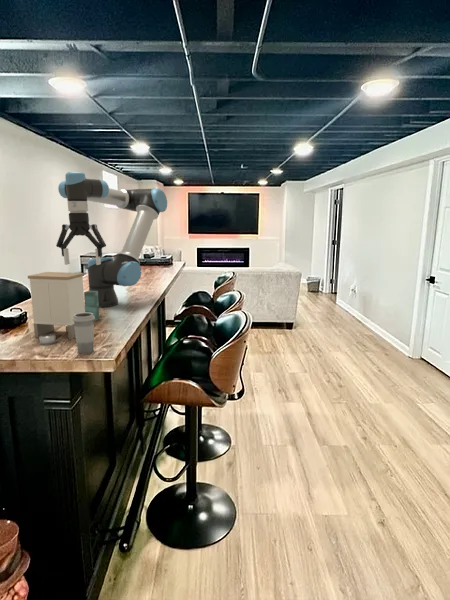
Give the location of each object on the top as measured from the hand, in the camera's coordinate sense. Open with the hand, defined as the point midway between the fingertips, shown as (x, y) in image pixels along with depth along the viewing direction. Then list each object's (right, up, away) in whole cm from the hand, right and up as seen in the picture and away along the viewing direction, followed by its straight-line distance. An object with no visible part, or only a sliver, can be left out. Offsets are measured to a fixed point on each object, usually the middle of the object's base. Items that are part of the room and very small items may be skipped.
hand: (82, 264), depth 162 cm
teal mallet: (+3, -25, -7) cm, 26 cm away
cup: (+15, -31, -39) cm, 52 cm away
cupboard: (0, -27, -21) cm, 34 cm away
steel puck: (-1, -29, -30) cm, 42 cm away
